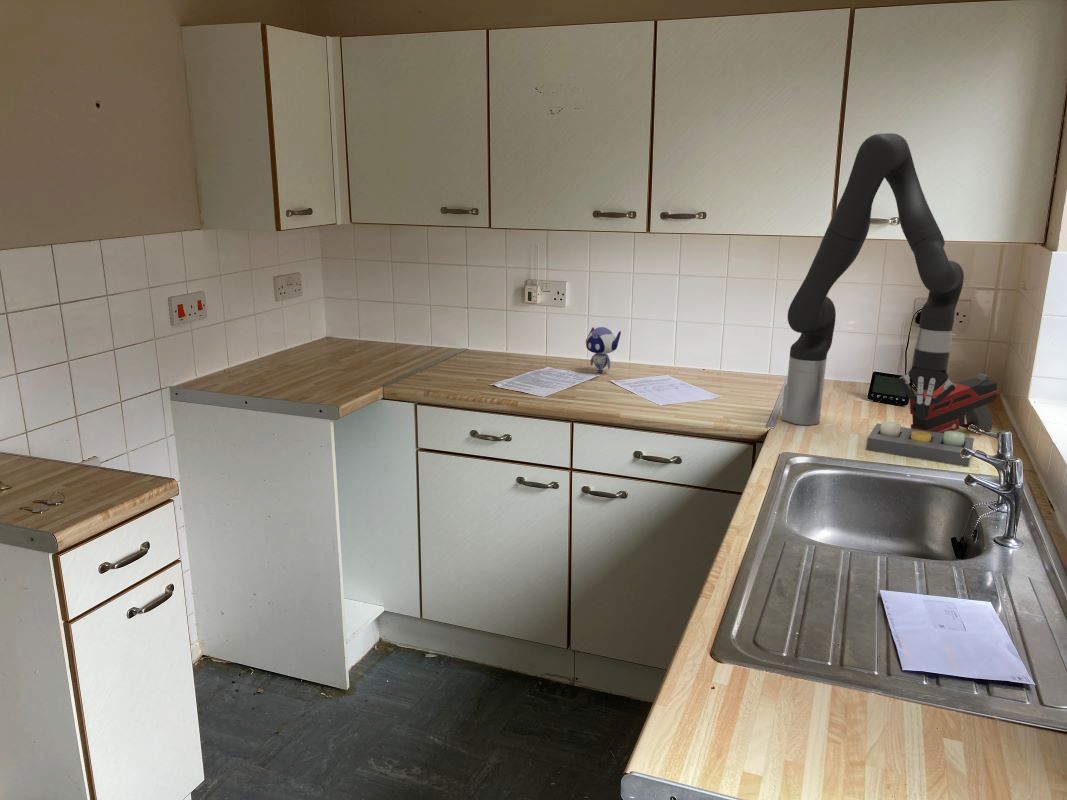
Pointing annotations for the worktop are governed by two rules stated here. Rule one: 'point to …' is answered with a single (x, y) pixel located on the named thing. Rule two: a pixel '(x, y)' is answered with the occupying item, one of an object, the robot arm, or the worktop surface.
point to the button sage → (953, 438)
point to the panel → (918, 446)
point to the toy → (601, 346)
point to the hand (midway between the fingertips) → (921, 418)
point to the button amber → (921, 436)
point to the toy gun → (959, 407)
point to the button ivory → (890, 428)
